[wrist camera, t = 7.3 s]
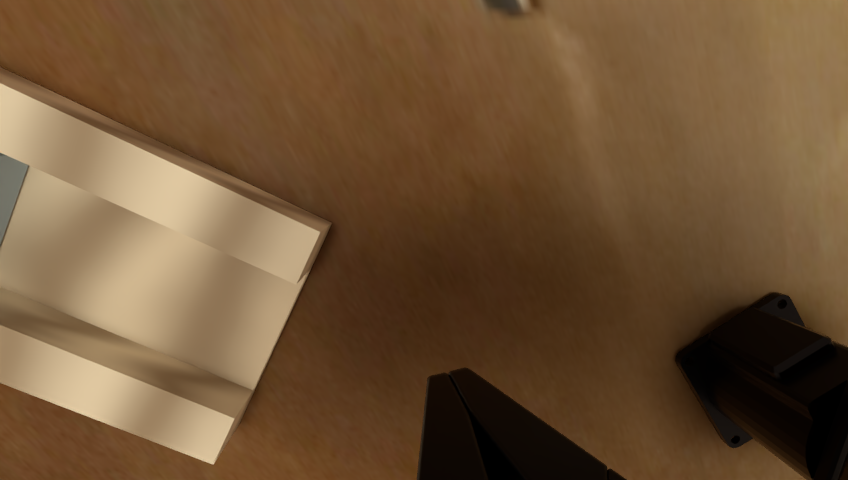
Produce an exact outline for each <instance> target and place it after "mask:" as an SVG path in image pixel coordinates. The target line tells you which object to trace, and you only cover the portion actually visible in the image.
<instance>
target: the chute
mask: <svg viewBox="0 0 848 480" xmlns="http://www.w3.org/2000/svg"><path fill="white" fill-rule="evenodd" d="M0 153H2V154H5V155H7V156H9V157H11V158H13V159H16V160H18V161H20V162H22V163H25V164H27V165H28V168H27V171H26V173H25V176H24V179H23V182H22V185H21V188H20V190H19V193H18V196H17V199H16V202H15V205H14V207H13V210H12V213H11V216H10V219H9V222H8V224H7V227H6V230H5V233H4V236H3V239H2V242H1V244H0V383H2V384H5V385H7V386H10V387H12V388H15V389H18V390H20V391H23V392H25V393H28V394H31V395H33V396H36V397H38V398H41V399H44V400H46V401H49V402H51V403H54V404H57V405H59V406H62V407H64V408H67V409H70V410H72V411H75V412H77V413H80V414H83V415H85V416H88V417H91V418H93V419H96V420H98V421H101V422H104V423H106V424H109V425H111V426H114V427H117V428H119V429H122V430H124V431H127V432H130V433H132V434H135V435H137V436H140V437H143V438H145V439H148V440H150V441H153V442H156V443H158V444H161V445H163V446H166V447H169V448H171V449H174V450H176V451H179V452H182V453H184V454H187V455H189V456H192V457H195V458H197V459H200V460H203V461H205V462H208V463H210V464H213V465H214V463H215V461H216V460H217V458H218V457H219V455H220V454H221V452H222V450H223V449H224V447H225V446H226V444H227V443H228V441H229V439H230V438H231V436H232V435H233V433H234V432H235V430H236V429H237V427H238V425H239V423H240V421H241V419H242V417H243V415H244V413H245V410H246V408H247V406H248V404H249V402H250V400H251V397H252V395H253V393H254V391H255V389H256V387H257V384H258V382H259V380H260V378H261V376H262V374H263V371H264V369H265V367H266V365H267V363H268V361H269V359H270V356H271V354H272V352H273V350H274V348H275V346H276V343H277V341H278V339H279V337H280V335H281V333H282V330H283V328H284V326H285V324H286V322H287V320H288V317H289V315H290V313H291V311H292V309H293V307H294V305H295V302H296V300H297V298H298V296H299V294H300V292H301V289H302V287H303V285H304V283H305V281H306V279H307V276H308V274H309V272H310V270H311V268H312V266H313V263H314V261H315V259H316V257H317V255H318V253H319V250H320V248H321V246H322V244H323V242H324V240H325V238H326V235H327V233H328V231H329V229H330V227H331V225H332V223H331V222H329V221H327V220H325V219H323V218H321V217H318V216H316V215H314V214H312V213H310V212H308V211H306V210H304V209H301V208H299V207H297V206H295V205H293V204H291V203H289V202H286V201H284V200H282V199H280V198H278V197H276V196H274V195H272V194H269V193H267V192H265V191H263V190H261V189H259V188H257V187H255V186H252V185H250V184H248V183H246V182H244V181H242V180H240V179H238V178H235V177H233V176H231V175H229V174H227V173H225V172H223V171H221V170H218V169H216V168H214V167H212V166H210V165H208V164H206V163H203V162H201V161H199V160H197V159H195V158H193V157H191V156H189V155H186V154H184V153H182V152H180V151H178V150H176V149H174V148H172V147H169V146H167V145H165V144H163V143H161V142H159V141H157V140H155V139H152V138H150V137H148V136H146V135H144V134H142V133H140V132H138V131H135V130H133V129H131V128H129V127H127V126H125V125H123V124H121V123H118V122H116V121H114V120H112V119H110V118H108V117H106V116H103V115H101V114H99V113H97V112H95V111H93V110H91V109H89V108H86V107H84V106H82V105H80V104H78V103H76V102H74V101H72V100H69V99H67V98H65V97H63V96H61V95H59V94H57V93H55V92H52V91H50V90H48V89H46V88H44V87H42V86H40V85H38V84H35V83H33V82H31V81H29V80H27V79H25V78H23V77H20V76H18V75H16V74H14V73H12V72H10V71H8V70H6V69H3V68H1V67H0Z"/></svg>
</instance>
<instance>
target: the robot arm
mask: <svg viewBox="0 0 848 480" xmlns="http://www.w3.org/2000/svg"><path fill="white" fill-rule="evenodd" d="M779 301H780V304H779V305H778V306H777V304H778V302H779ZM687 358H689V361H688V362H686V363H685V361H686V359H687ZM676 363H677V365H678V367H679V368H680V370H681V372H682V373H683V375H684V377H685V378H686V380H687V382H688V383H689V385H690V387H691V388H692V390H693V392H694V393H695V395H696V397H697V398H698V400H699V402H700V404H701V405H702V407H703V409H704V410H705V412H706V414H707V415H708V417H709V419H710V420H711V422H712V424H713V425H714V427H715V429H716V430H717V432H718V434H719V435H720V437H721V439H722V440H723V441H724V442H725V443H726V444H727V445H728V446H729V447H732V448H737V447H739V446H741V445H743V444H744V443H746V442H748V441H749V440H751V439H755V440H756V441H757V442H759V443H760V444H761V445H763V446H764V447H765V448H766V449H768V450H769V451H770V452H772V453H773V454H774V455H775V456H777V457H778V458H779V459H781V460H782V461H783V462H785V463H786V464H787V465H788V466H790V467H791V468H792V469H794V470H795V471H796V472H797V473H799V474H800V475H801V476H803V477H804V478H805V479H807V480H848V347H847V346H844V345H842V344H839V343H837V342H834V341H832V340H831V338H829V337H828V336H825V335H823V334H820V333H818V332H815V331H813V330H810V329H808V328H806V327H805V325H804V323H803V322H802V320H801V318H800V316H799V314H798V312H797V310H796V308H795V306H794V304H793V302H792V300H791V299H790V297H789V296H787V295H784V294H781V293H773V294H771V295H769V296H768V297H766V298H765V299H763V300H761V301H760V302H758V303H757V304H755V305H753V306H752V307H750V308H749V309H747V310H745V311H744V312H742V313H741V314H739V315H737V316H736V317H734V318H733V319H731V320H729V321H728V322H726V323H725V324H723V325H722V326H720V327H718V328H717V329H715V330H714V331H712V332H710V333H709V334H707V335H706V336H704V337H702V338H701V339H699V340H698V341H696V342H694V343H693V344H691V345H690V346H688V347H686V348H685V349H683V350H682V351H680V352H679V353H678V354H677V356H676ZM733 436H734V437H733ZM732 437H733V438H732ZM731 438H732V439H731ZM417 480H626V479H625V478H623V477H622V476H621V475H619V474H618V473H616V472H615V471H614V470H612V469H608V471H607V466H606V465H605V464H603V463H602V462H601V461H599V460H598V459H596V458H595V457H593V456H592V455H591V454H589V453H588V452H586V451H585V450H584V449H582V448H581V447H579V446H578V445H576V444H575V443H574V442H572V441H571V440H569V439H568V438H567V437H565V436H564V435H562V434H561V433H559V432H558V431H557V430H555V429H554V428H552V427H551V426H550V425H548V424H547V423H545V422H544V421H542V420H541V419H540V418H538V417H537V416H535V415H534V414H533V413H531V412H530V411H528V410H527V409H525V408H524V407H523V406H521V405H520V404H518V403H517V402H516V401H514V400H513V399H511V398H510V397H508V396H507V395H506V394H504V393H503V392H501V391H500V390H499V389H497V388H496V387H494V386H493V385H491V384H490V383H489V382H487V381H486V380H484V379H483V378H482V377H480V376H479V375H477V374H476V373H474V372H473V371H472V370H470V369H469V368H461V369H457V370H453V371H450V372H449V373H448V374H447V373H440V374H436V375H432V376H429V377H428V379H427V388H426V398H425V407H424V416H423V426H422V435H421V445H420V454H419V464H418V473H417Z"/></svg>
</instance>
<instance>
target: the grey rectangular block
mask: <svg viewBox="0 0 848 480" xmlns="http://www.w3.org/2000/svg"><path fill="white" fill-rule="evenodd" d="M27 168H28V165H27V164H25V163H22V162H20V161H18V160H16V159H13V158H11V157H9V156H7V155H5V154H2V153H0V244H1V242H2V239H3V236H4V233H5V230H6V227H7V224H8V222H9V219H10V216H11V213H12V210H13V207H14V205H15V202H16V199H17V196H18V193H19V190H20V188H21V185H22V182H23V179H24V176H25V173H26V171H27Z"/></svg>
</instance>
